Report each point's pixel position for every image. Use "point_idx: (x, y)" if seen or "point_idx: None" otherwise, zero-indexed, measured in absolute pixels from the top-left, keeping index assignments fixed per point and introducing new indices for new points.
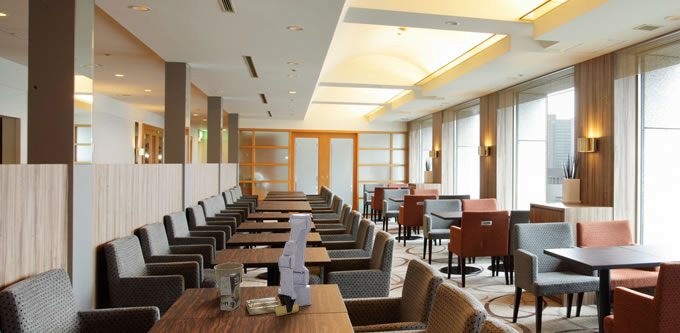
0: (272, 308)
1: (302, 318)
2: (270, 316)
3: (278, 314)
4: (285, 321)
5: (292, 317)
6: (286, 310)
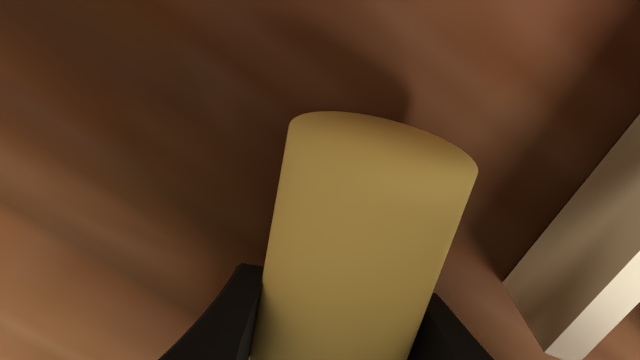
0: (629, 208)
1: (16, 302)
2: (459, 13)
3: (324, 118)
4: (30, 44)
5: (142, 239)
6: (265, 280)
